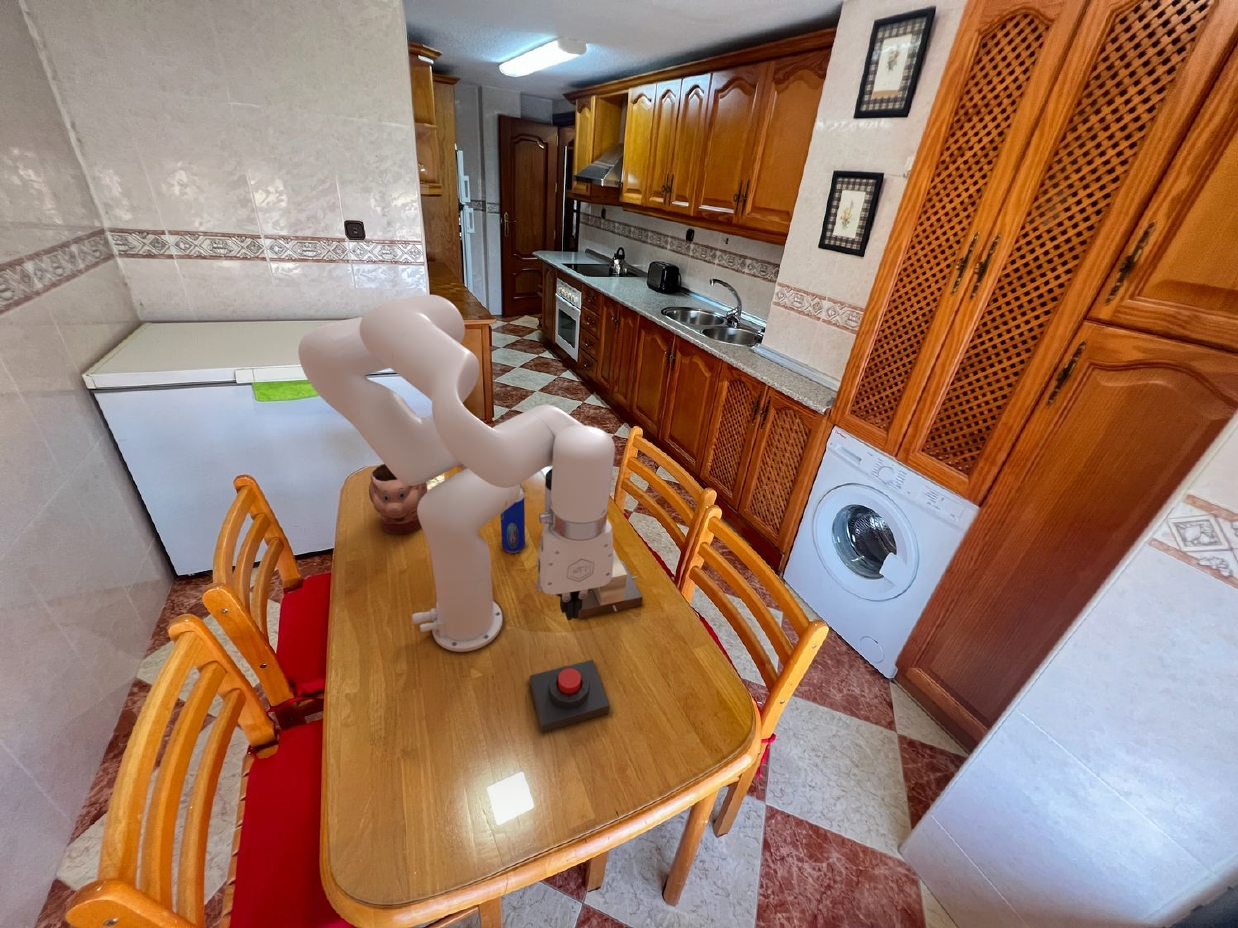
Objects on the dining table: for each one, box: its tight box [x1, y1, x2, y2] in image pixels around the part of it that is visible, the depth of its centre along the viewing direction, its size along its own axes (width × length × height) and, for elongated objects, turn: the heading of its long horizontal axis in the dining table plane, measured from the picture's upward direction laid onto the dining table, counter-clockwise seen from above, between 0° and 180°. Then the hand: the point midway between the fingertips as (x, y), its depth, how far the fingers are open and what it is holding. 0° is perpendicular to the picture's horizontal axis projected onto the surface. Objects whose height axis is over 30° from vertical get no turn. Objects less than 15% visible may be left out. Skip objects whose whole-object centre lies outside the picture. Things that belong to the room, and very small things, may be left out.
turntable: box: [578, 560, 643, 620], centre depth 102 cm, size 15×15×3 cm
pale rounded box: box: [593, 547, 627, 606], centre depth 100 cm, size 11×5×7 cm, turn 20°
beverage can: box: [500, 488, 526, 554], centre depth 109 cm, size 5×5×15 cm
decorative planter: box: [368, 463, 428, 534], centre depth 114 cm, size 20×12×14 cm, turn 23°
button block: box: [529, 659, 611, 734], centre depth 81 cm, size 11×9×4 cm
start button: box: [558, 668, 581, 695], centre depth 79 cm, size 4×4×2 cm
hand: (570, 612), depth 75 cm, fingers closed
